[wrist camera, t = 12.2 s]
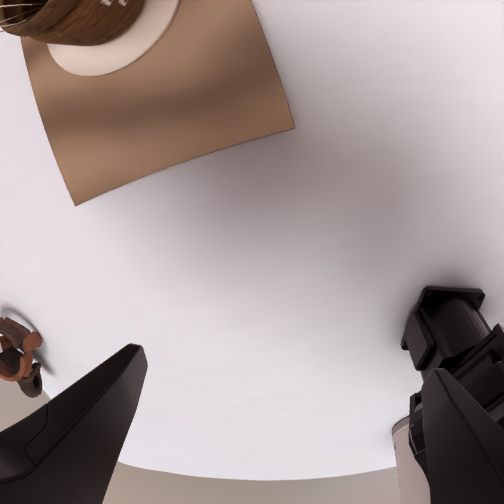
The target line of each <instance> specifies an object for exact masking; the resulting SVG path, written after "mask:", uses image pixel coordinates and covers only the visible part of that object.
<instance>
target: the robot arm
mask: <svg viewBox="0 0 504 504" xmlns="http://www.w3.org/2000/svg"><path fill="white" fill-rule="evenodd" d="M429 292H430V293H429ZM427 293H429V294H428V295H427ZM484 298H485V294H484V292H483V291H482V290H474V289H457V288H442V287H426V288H425V289H424V290H423V291H422V294H421V296H420V299H419V302H418V304H417V307H416V309H415V311H414V312H413V314H412V316H411V319H410V321H409V324H408V326H407V328H406V330H405V333H404V337H403V340H402V342H401V347H402V349H403V350H409V352H410V355H411V358H412V361H413V364H414V367H415V369H416V370H417V371H420V372H421V375H422V378H423V381H424V383H423V385H422V389H421V391H419V392H418V393H415V394H413V395H412V396H411V397H410V413H409V434H408V436H409V446H410V448H411V451H412V453H413V455H414V459H415V460H416V461H417V463H418V464H419V465H420V467H421V468H422V470H423V472H424V474H425V476H426V479H427V481H428V484H429V488H430V504H504V328H503V327H502V326H501V325H500V324H499V323H498V324H497V325H496V326H495V327H494V328H493V330H492V331H491V329H490V327H489V326H488V324H487V323H486V321H485V319H484V318H483V316H482V314H481V313H480V311H479V308H480V306H481V304H482V302H483V300H484ZM406 344H407V345H406ZM147 367H148V364H147V360H146V356H145V353H144V349H143V347H142V346H141V345H137V344H132V343H130V344H128V345H126V346H125V347H124V348H122V349H121V350H119V351H118V352H117V353H115V354H114V355H112V356H111V357H110V358H108V359H107V360H106V361H104V362H103V363H101V364H100V365H99V366H97V367H96V368H95V369H93V370H92V371H90V372H89V373H88V374H86V375H85V376H83V377H82V378H81V379H79V380H78V381H77V382H75V383H74V384H72V385H71V386H70V387H68V388H67V389H65V390H64V391H63V392H61V393H60V394H59V395H57V396H56V397H54V398H53V399H52V400H50V401H49V402H48V403H46V404H45V405H43V406H42V407H41V408H39V409H38V410H36V411H35V412H33V413H32V414H30V415H29V416H27V417H26V418H24V419H22V420H21V421H19V422H17V423H16V424H14V425H12V426H10V427H8V428H7V429H5V430H3V431H1V432H0V504H102V502H103V499H104V496H105V493H106V491H107V487H108V485H109V482H110V479H111V476H112V474H113V471H114V468H115V465H116V463H117V460H118V457H119V454H120V452H121V449H122V446H123V444H124V441H125V438H126V436H127V433H128V430H129V428H130V425H131V423H132V420H133V418H134V415H135V412H136V409H137V406H138V402H139V398H140V394H141V390H142V387H143V383H144V379H145V376H146V372H147Z"/></svg>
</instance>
